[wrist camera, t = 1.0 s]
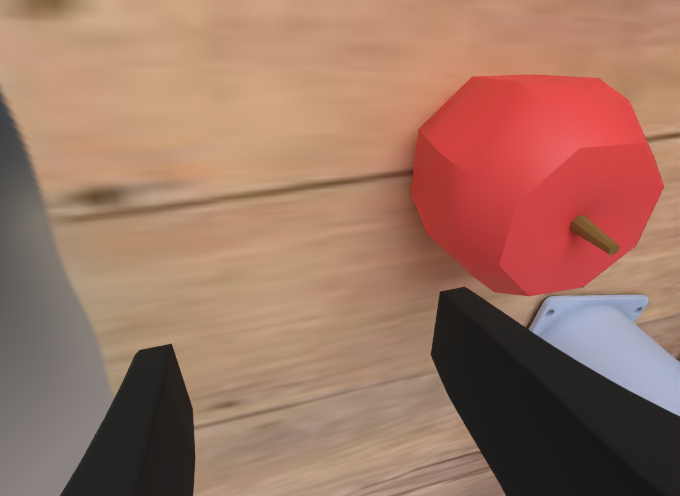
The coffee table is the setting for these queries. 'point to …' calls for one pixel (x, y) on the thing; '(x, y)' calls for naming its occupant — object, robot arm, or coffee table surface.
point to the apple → (535, 180)
